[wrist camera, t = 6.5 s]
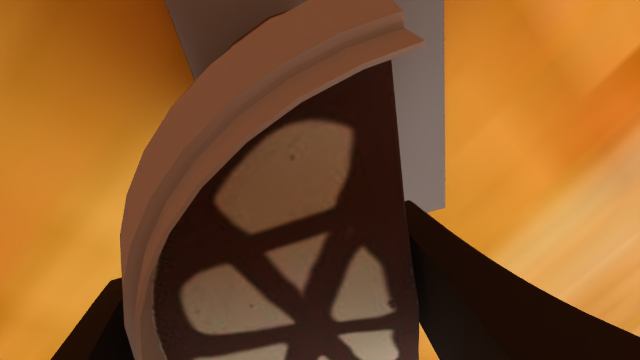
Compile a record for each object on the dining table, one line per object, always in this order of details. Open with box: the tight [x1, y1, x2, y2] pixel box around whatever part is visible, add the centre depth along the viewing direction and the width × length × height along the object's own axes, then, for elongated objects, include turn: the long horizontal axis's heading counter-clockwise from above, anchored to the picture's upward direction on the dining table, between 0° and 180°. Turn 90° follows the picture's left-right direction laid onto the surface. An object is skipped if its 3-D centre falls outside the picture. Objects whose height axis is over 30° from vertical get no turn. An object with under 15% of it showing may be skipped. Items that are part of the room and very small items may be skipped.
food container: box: [120, 0, 426, 360], centre depth 12 cm, size 12×6×10 cm, turn 10°
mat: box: [165, 0, 445, 213], centre depth 17 cm, size 10×14×1 cm
